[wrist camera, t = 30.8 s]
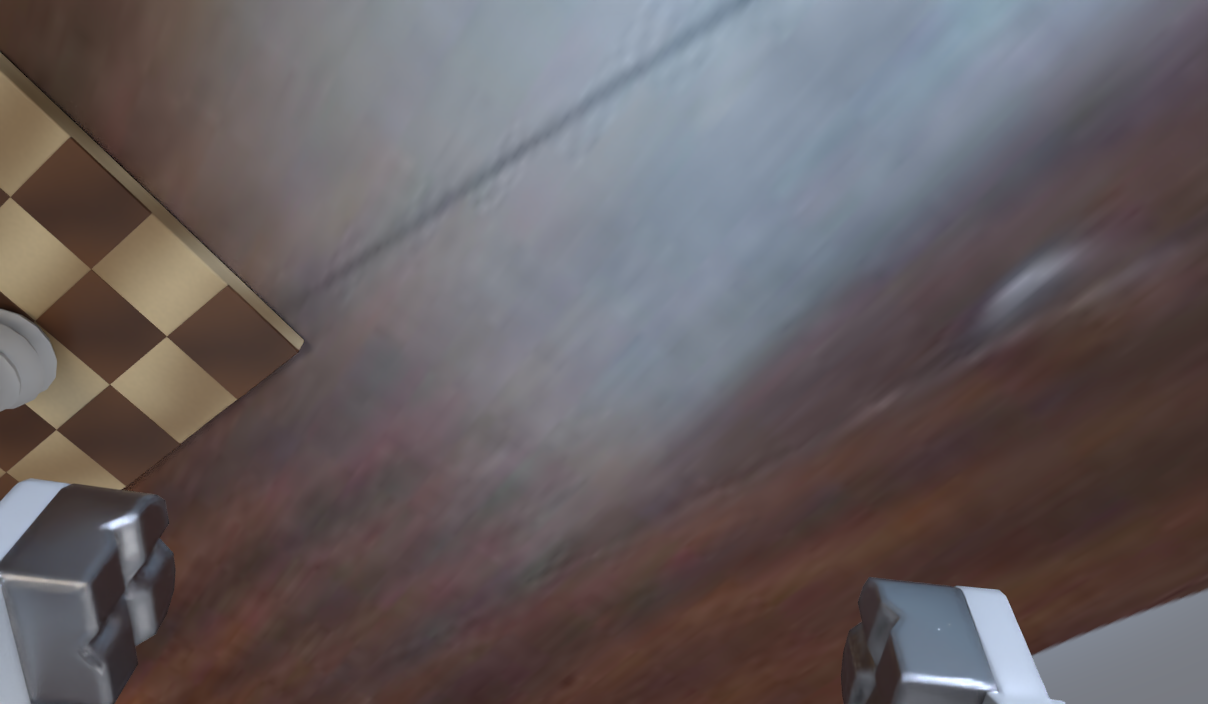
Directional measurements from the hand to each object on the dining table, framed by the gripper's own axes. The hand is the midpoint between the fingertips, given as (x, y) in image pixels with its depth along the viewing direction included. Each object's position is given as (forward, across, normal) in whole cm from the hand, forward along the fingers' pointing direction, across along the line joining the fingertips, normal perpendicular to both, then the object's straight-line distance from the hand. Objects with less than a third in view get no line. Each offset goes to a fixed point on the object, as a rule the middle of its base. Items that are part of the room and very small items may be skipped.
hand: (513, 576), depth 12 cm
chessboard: (+29, +25, +16) cm, 41 cm away
